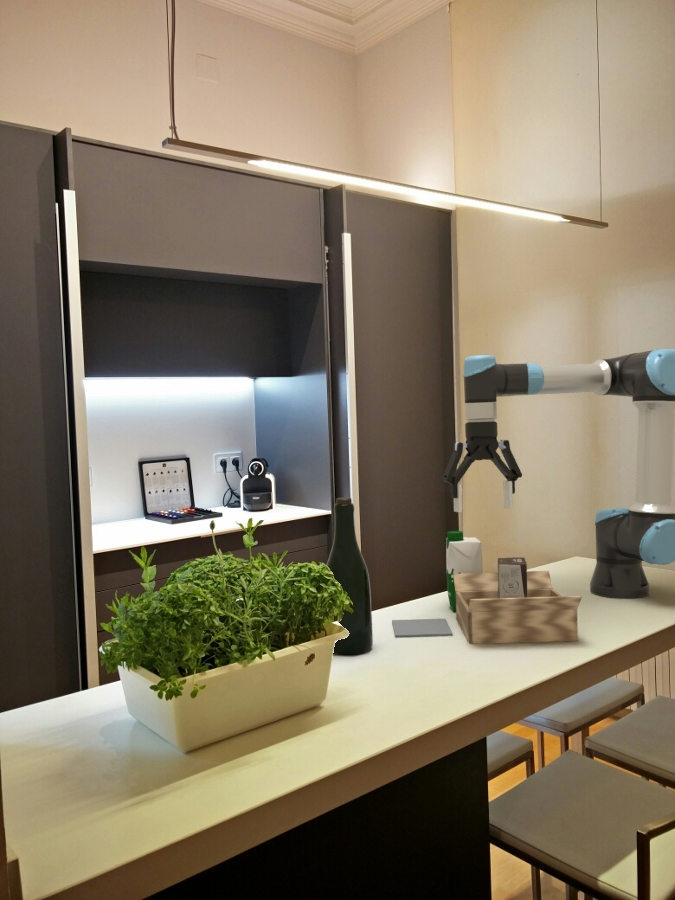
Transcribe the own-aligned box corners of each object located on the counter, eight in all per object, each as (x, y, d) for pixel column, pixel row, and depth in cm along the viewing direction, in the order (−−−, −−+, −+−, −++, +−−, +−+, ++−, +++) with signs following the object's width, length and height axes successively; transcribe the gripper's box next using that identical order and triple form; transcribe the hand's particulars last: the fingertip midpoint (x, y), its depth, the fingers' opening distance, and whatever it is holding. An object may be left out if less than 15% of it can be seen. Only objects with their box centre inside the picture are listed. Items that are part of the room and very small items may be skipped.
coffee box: (528, 635, 169) (527, 564, 168) (499, 635, 170) (497, 564, 169) (527, 624, 178) (525, 556, 177) (499, 624, 179) (497, 556, 178)
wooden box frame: (549, 613, 187) (548, 570, 187) (582, 645, 160) (581, 595, 160) (454, 615, 187) (453, 573, 187) (471, 648, 161) (470, 599, 160)
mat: (445, 620, 184) (445, 618, 184) (452, 635, 171) (452, 633, 171) (392, 622, 184) (392, 620, 184) (395, 637, 171) (395, 635, 171)
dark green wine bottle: (372, 656, 158) (367, 499, 157) (322, 656, 159) (317, 500, 157) (373, 641, 168) (368, 494, 167) (326, 642, 169) (321, 495, 168)
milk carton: (445, 605, 198) (443, 529, 198) (480, 604, 198) (478, 528, 197) (450, 613, 190) (447, 534, 189) (486, 612, 189) (484, 533, 189)
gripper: (518, 419, 187) (520, 504, 188) (426, 422, 179) (429, 511, 180) (535, 418, 180) (537, 507, 180) (440, 422, 172) (443, 515, 172)
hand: (483, 509), depth 180 cm, fingers open, 13 cm apart
